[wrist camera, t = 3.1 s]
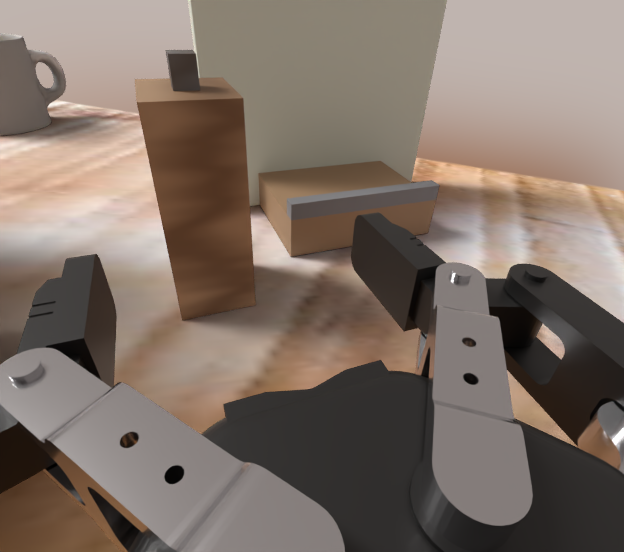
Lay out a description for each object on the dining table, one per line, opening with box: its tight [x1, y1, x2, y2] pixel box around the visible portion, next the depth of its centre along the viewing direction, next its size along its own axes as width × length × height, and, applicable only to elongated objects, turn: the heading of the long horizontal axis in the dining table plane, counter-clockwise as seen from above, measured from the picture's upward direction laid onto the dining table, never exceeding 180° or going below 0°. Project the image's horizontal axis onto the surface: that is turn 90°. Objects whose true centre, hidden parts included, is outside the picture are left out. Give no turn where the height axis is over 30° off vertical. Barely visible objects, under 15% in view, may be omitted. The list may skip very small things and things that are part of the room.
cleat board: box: [188, 0, 447, 257], centre depth 29 cm, size 20×10×20 cm, turn 111°
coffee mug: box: [0, 34, 66, 136], centre depth 50 cm, size 13×10×10 cm
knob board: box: [135, 50, 256, 320], centre depth 22 cm, size 4×5×14 cm
